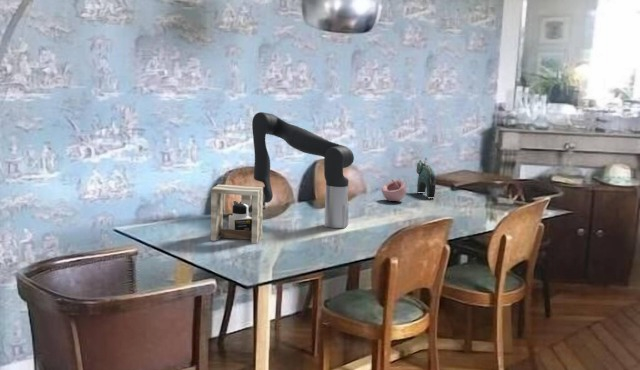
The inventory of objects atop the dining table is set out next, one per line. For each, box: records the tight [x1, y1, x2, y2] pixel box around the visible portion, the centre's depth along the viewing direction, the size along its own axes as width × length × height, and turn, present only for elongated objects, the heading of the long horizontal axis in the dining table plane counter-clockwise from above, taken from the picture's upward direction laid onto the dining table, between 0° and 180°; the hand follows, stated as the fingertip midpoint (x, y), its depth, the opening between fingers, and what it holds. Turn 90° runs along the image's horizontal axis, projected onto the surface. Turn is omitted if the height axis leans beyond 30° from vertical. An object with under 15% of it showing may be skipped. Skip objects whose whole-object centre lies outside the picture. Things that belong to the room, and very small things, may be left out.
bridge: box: [210, 184, 264, 244], centre depth 262 cm, size 10×18×20 cm, turn 84°
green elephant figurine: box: [416, 157, 436, 198], centre depth 363 cm, size 20×6×20 cm, turn 10°
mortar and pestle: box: [381, 179, 407, 202], centre depth 345 cm, size 12×12×11 cm
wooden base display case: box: [220, 195, 252, 240], centre depth 271 cm, size 19×12×15 cm, turn 174°
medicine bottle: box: [228, 202, 252, 231], centre depth 268 cm, size 7×7×12 cm
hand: (244, 209), depth 275 cm, fingers closed on wooden base display case, 3 cm apart
